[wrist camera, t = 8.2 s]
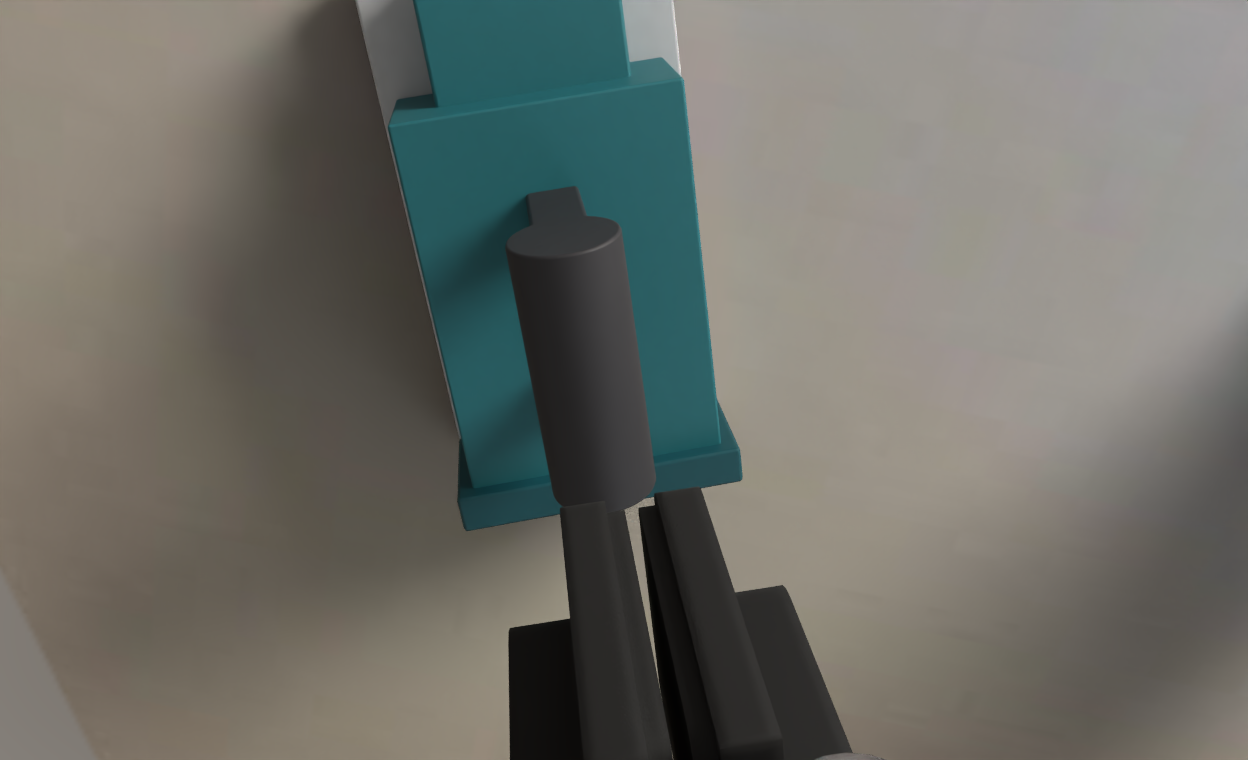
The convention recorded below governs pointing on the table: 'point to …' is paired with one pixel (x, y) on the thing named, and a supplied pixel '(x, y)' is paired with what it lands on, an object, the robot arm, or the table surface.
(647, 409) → the iron
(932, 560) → the table surface
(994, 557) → the table surface
